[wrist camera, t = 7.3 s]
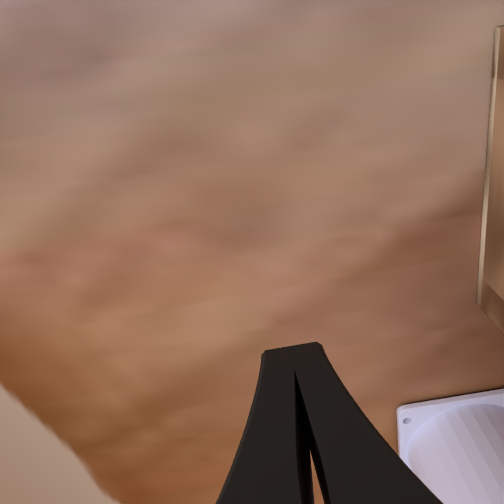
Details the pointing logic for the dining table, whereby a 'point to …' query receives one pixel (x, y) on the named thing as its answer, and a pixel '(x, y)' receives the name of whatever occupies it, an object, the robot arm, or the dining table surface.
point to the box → (494, 197)
